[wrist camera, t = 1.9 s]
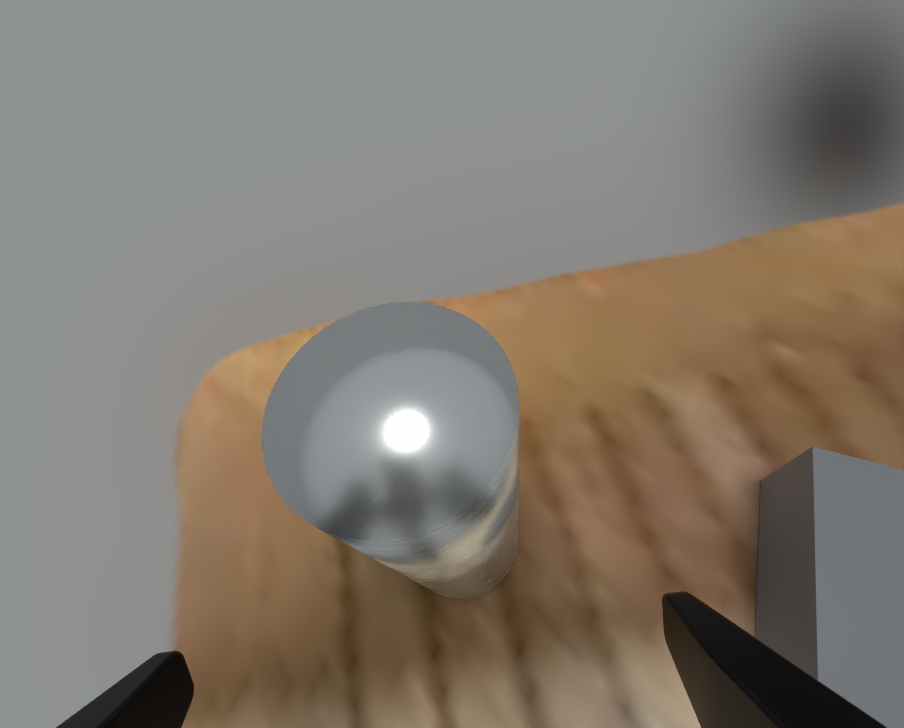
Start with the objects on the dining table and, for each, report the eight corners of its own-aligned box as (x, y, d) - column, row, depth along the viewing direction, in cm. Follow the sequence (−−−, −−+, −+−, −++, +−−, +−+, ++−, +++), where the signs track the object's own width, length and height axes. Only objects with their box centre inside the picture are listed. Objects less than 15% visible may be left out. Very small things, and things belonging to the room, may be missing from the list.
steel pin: (498, 620, 17) (463, 589, 7) (387, 572, 19) (209, 482, 8) (532, 500, 20) (549, 330, 9) (431, 465, 21) (339, 283, 10)
